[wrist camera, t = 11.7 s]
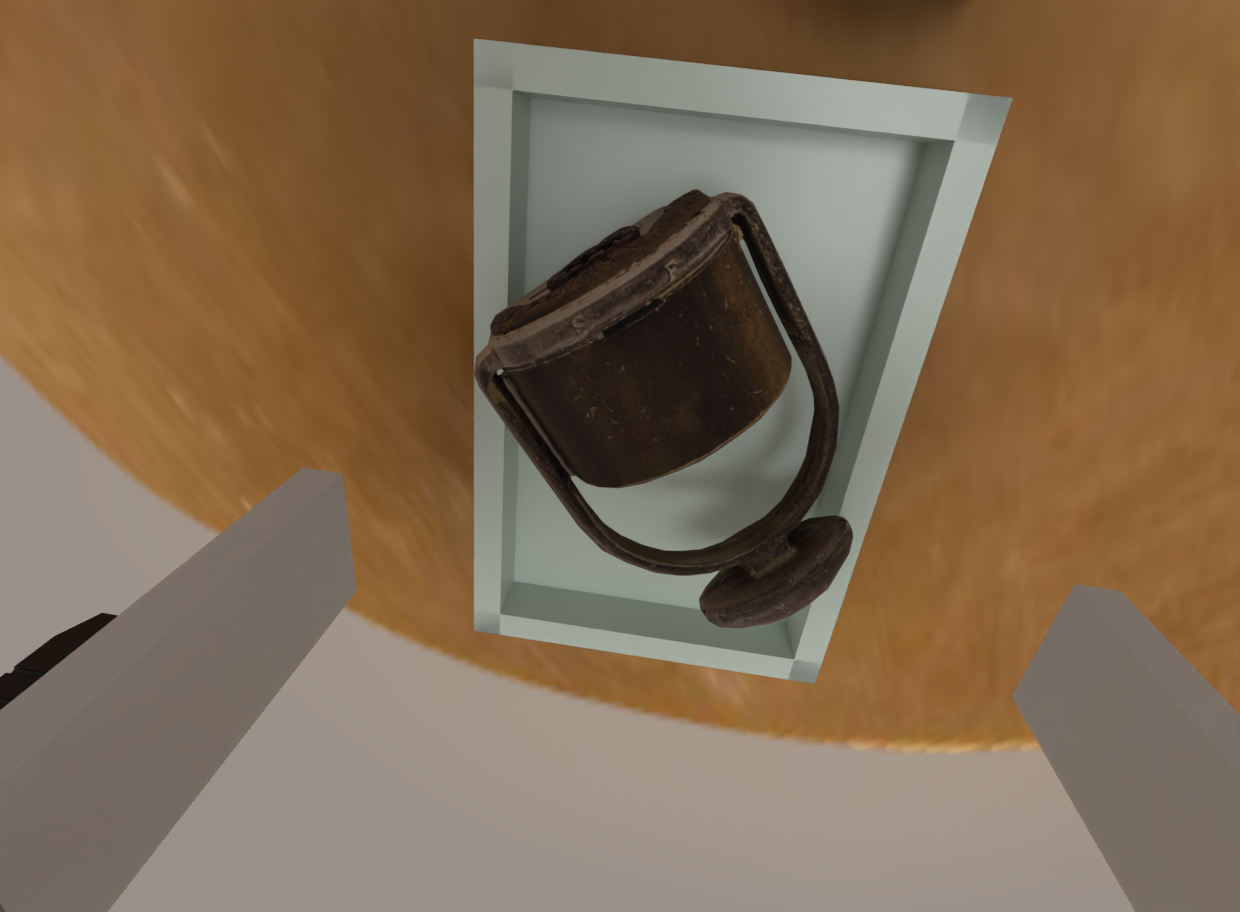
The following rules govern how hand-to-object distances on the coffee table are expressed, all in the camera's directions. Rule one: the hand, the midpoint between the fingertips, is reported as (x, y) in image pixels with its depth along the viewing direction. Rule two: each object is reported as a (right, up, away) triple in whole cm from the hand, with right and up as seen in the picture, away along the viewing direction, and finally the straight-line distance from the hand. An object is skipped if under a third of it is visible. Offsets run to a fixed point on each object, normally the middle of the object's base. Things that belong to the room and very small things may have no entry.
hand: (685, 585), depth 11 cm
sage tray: (+1, +5, +10) cm, 11 cm away
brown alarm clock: (+1, +4, +8) cm, 9 cm away
